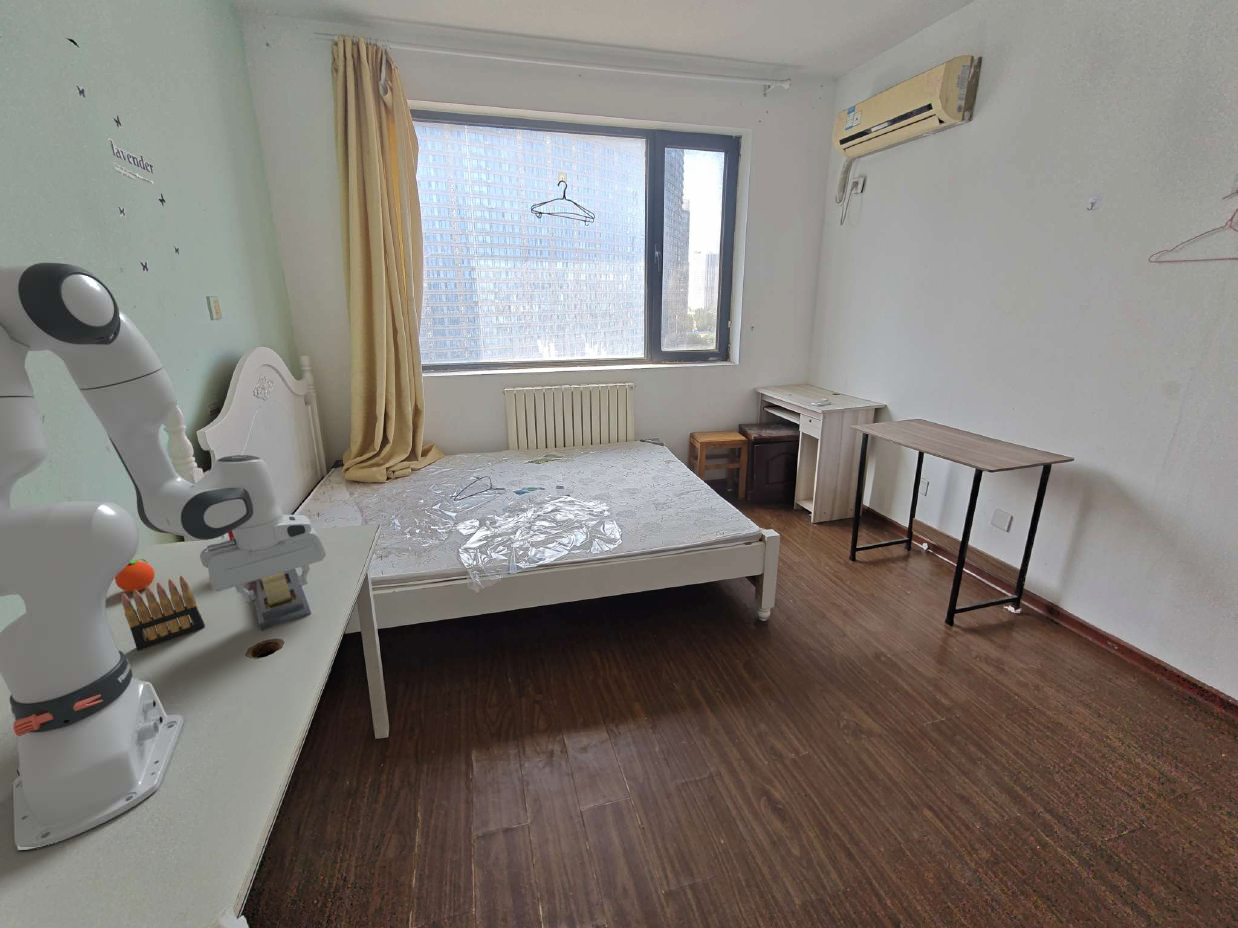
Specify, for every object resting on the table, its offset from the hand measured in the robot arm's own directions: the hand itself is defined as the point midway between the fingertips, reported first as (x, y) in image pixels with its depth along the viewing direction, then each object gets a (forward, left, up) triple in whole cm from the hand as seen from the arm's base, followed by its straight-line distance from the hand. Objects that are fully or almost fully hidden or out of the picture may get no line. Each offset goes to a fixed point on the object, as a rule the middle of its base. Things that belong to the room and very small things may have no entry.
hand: (278, 592), depth 114 cm
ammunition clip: (+5, +19, -5) cm, 20 cm away
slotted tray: (+9, 0, -5) cm, 10 cm away
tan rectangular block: (0, 0, -3) cm, 3 cm away
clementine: (+35, +26, -5) cm, 44 cm away
